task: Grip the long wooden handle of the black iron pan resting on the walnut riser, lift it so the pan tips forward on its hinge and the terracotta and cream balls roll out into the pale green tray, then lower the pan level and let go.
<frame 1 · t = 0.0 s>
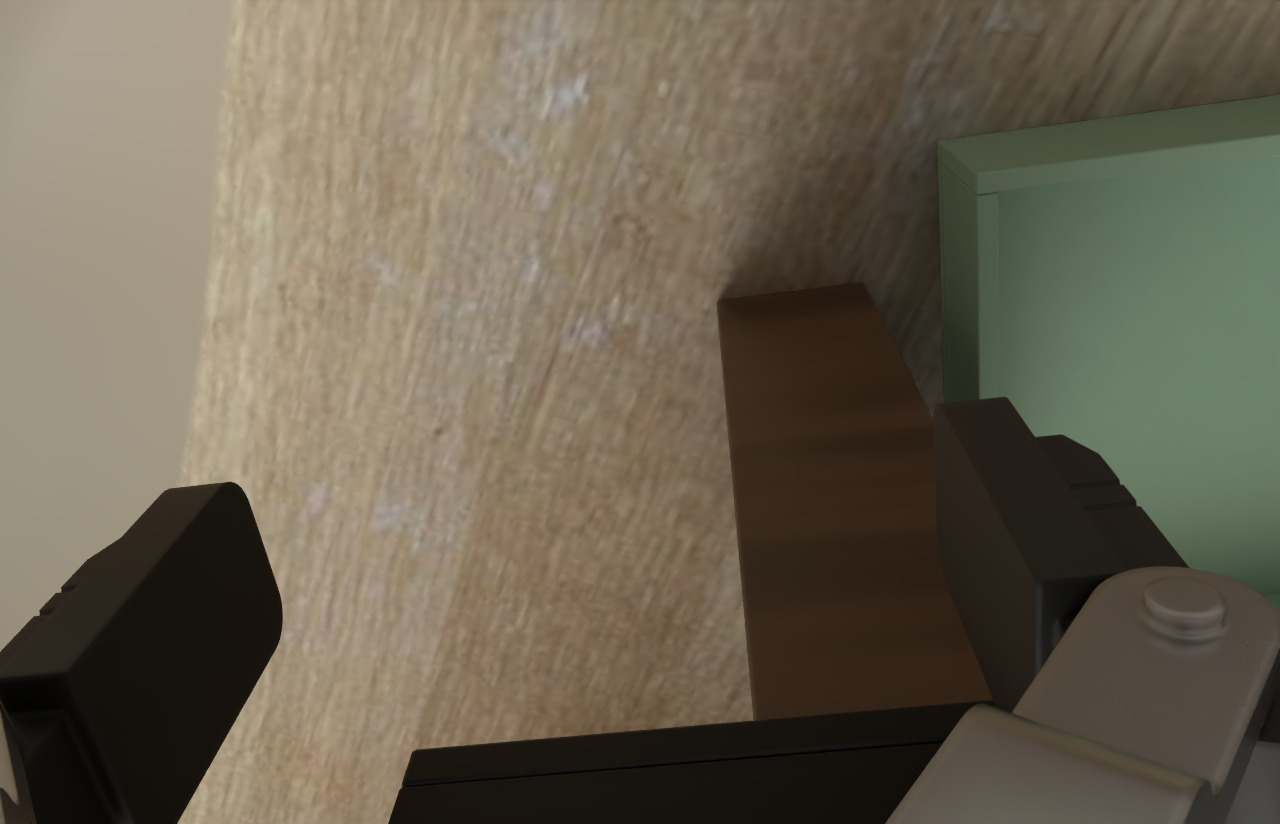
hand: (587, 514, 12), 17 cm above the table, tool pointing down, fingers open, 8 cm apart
riser: (801, 423, 30), on the table
tray: (1257, 372, 29), on the table
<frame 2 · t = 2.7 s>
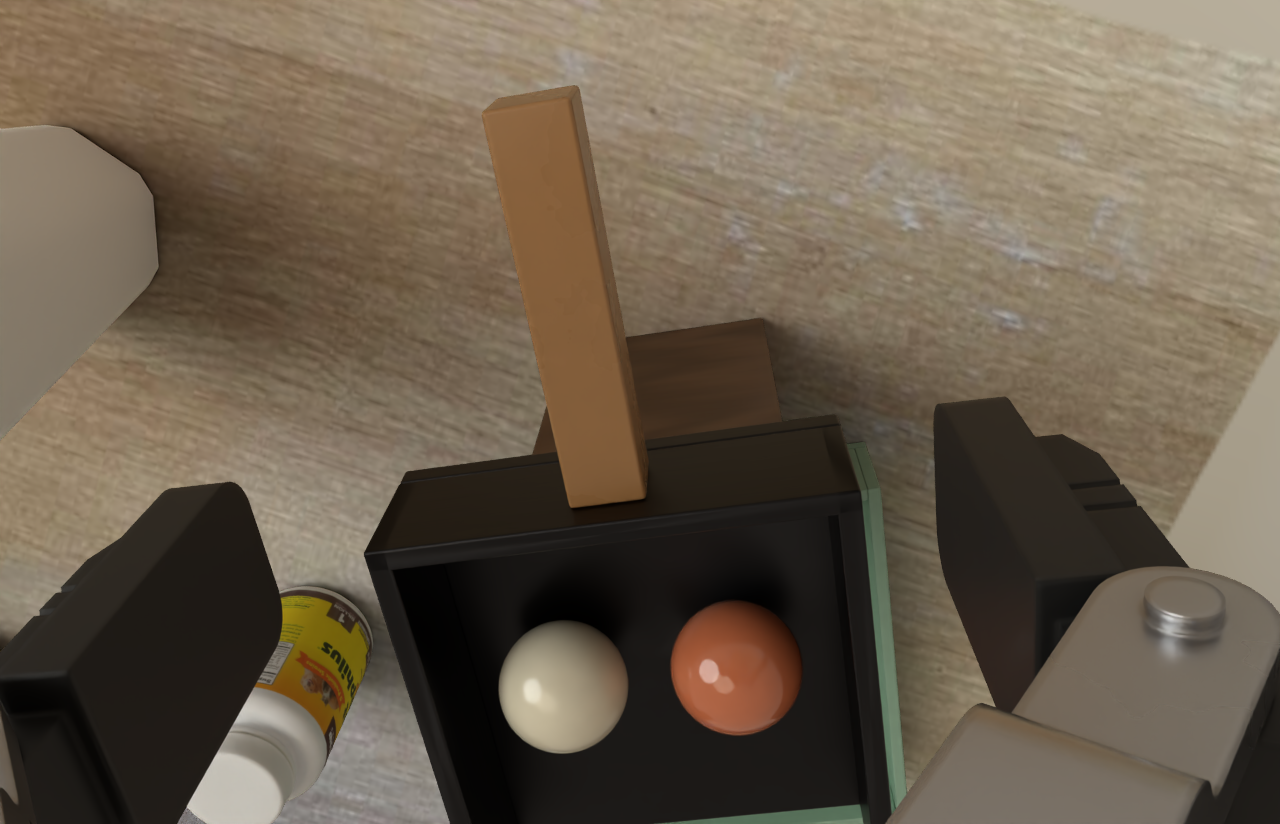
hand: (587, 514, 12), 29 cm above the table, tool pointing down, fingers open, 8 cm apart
riser: (669, 377, 43), on the table
pan: (623, 539, 23), point 20 cm above the table, hinge at 0.0°, touching cream ball, terracotta ball
tray: (712, 630, 48), on the table
cream ball: (563, 685, 24), point 20 cm above the table, touching pan
supplement bottle: (318, 627, 49), on the table
cup: (72, 219, 41), on the table
terracotta ball: (736, 666, 24), point 20 cm above the table, touching pan
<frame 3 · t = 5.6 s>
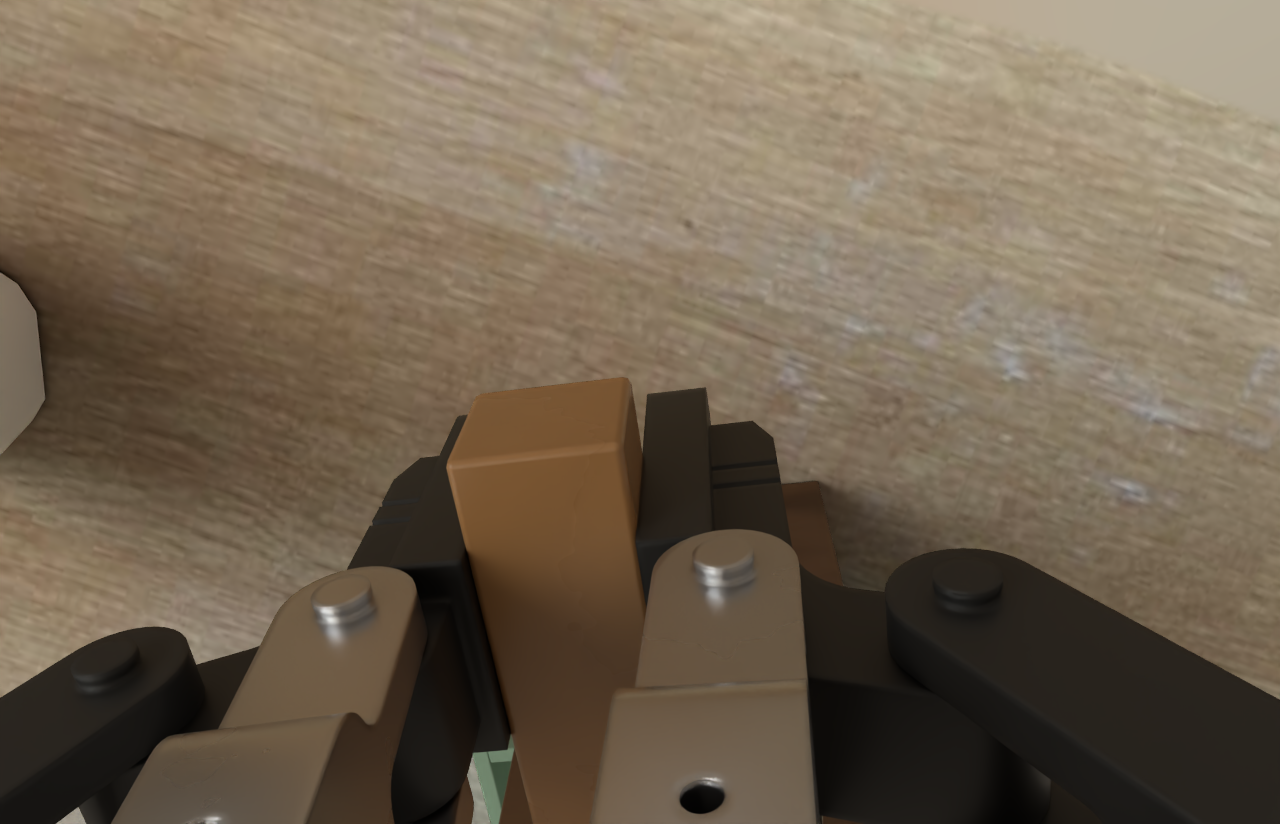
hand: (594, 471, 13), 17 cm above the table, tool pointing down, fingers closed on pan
riser: (696, 547, 34), on the table
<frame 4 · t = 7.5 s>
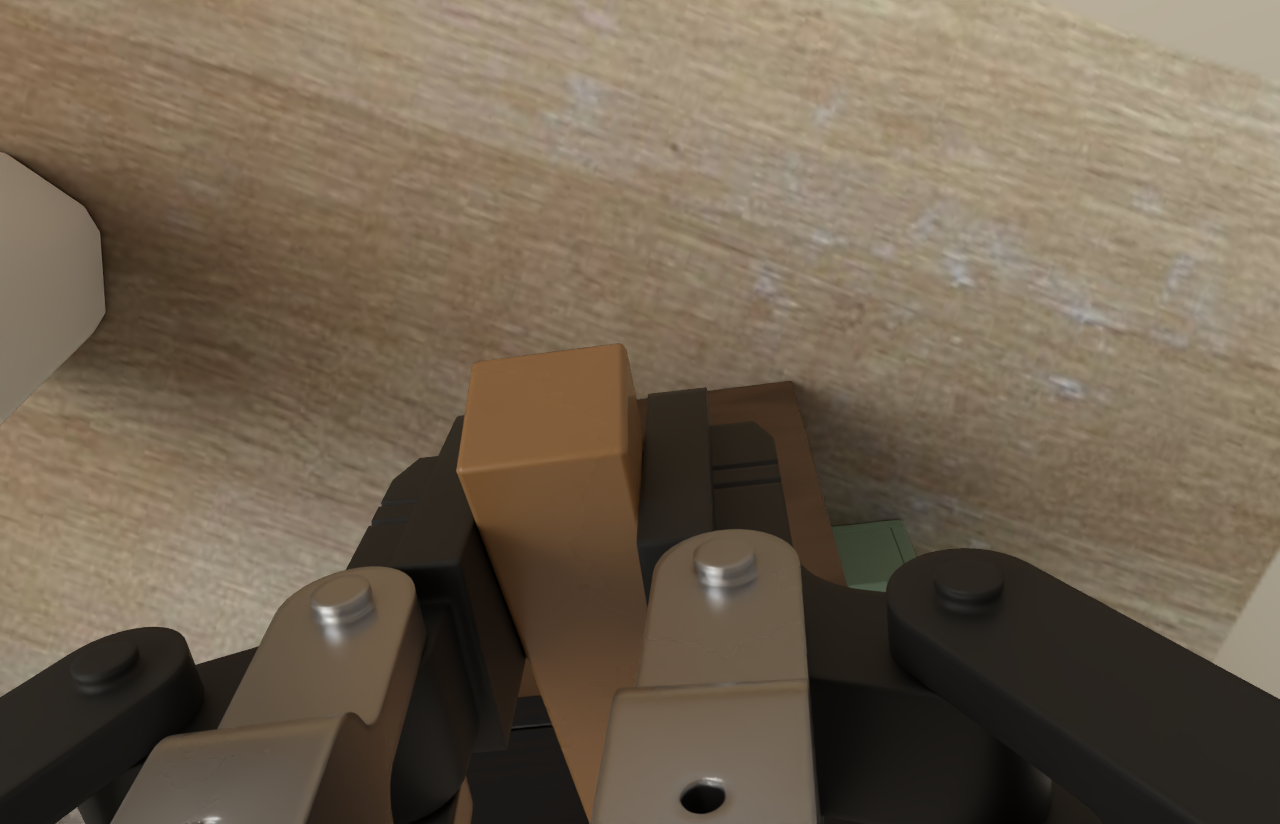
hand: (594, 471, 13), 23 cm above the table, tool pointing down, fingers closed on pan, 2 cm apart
riser: (685, 445, 38), on the table
tray: (724, 722, 43), on the table
cup: (7, 256, 36), on the table
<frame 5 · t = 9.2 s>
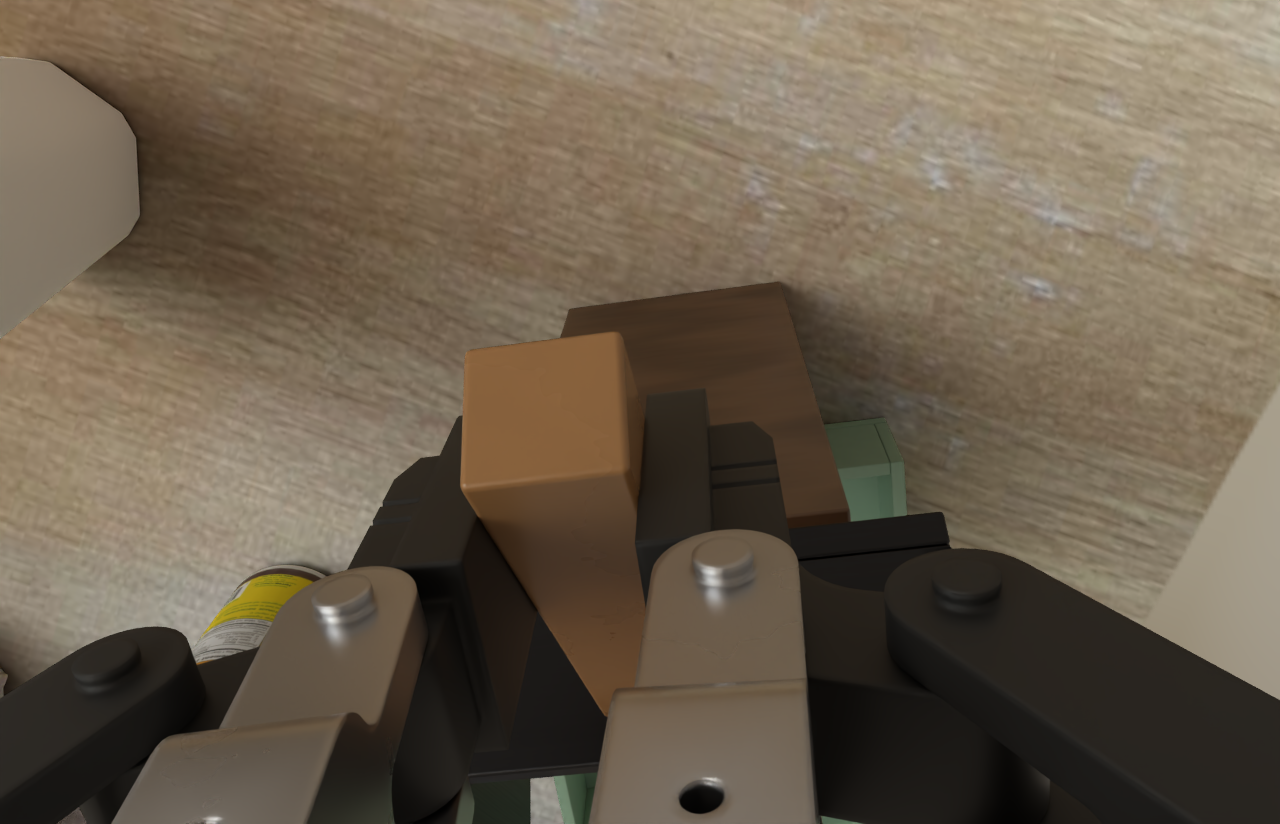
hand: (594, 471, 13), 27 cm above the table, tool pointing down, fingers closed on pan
riser: (680, 344, 41), on the table
pan: (661, 673, 18), point 23 cm above the table, hinge at 36.2°, touching gripper
tray: (718, 619, 45), on the table
supplement bottle: (300, 610, 46), on the table
cup: (49, 162, 39), on the table
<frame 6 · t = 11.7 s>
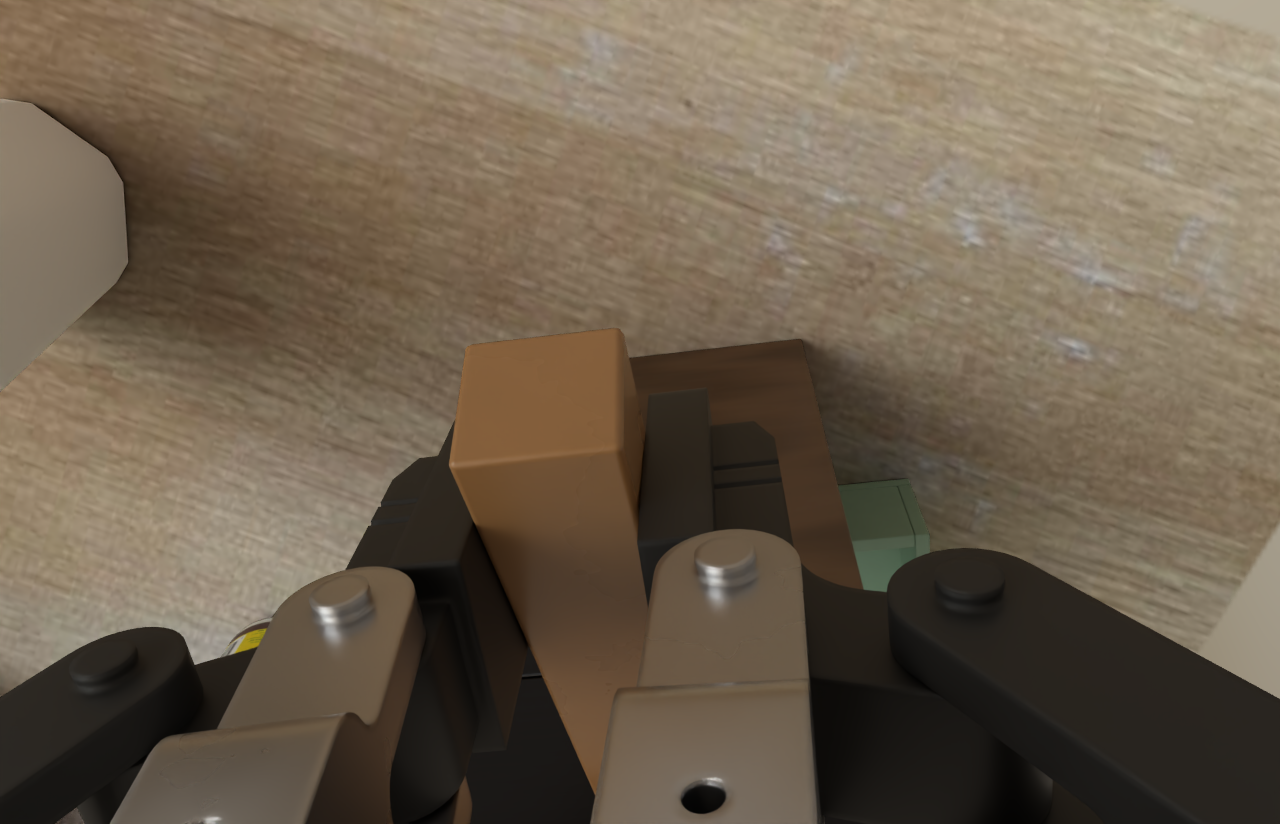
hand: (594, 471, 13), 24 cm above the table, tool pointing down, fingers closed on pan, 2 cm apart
riser: (695, 401, 39), on the table
pan: (667, 779, 17), point 22 cm above the table, hinge at 23.3°, touching gripper
tray: (730, 677, 44), on the table
supplement bottle: (297, 661, 45), on the table
cup: (33, 206, 37), on the table
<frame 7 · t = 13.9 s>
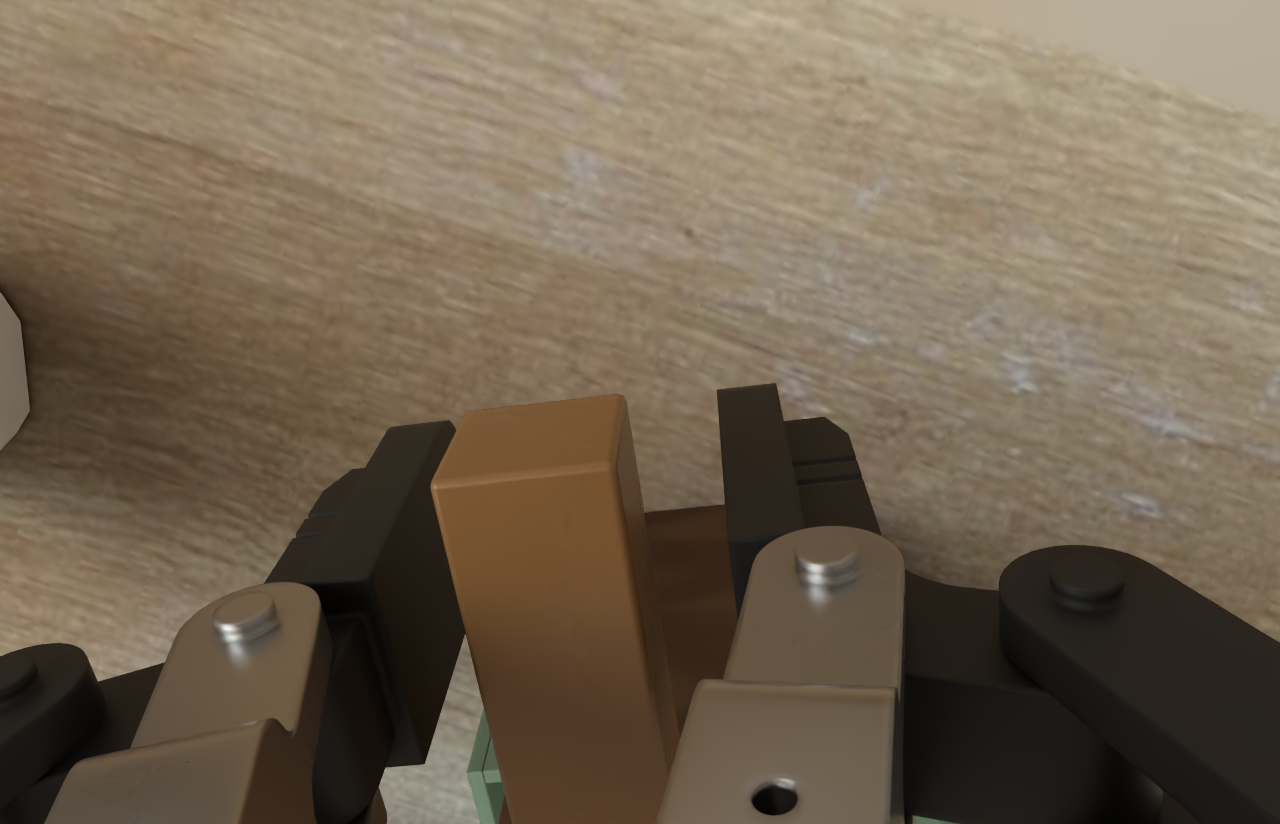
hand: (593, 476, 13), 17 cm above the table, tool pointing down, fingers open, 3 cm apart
riser: (697, 563, 33), on the table
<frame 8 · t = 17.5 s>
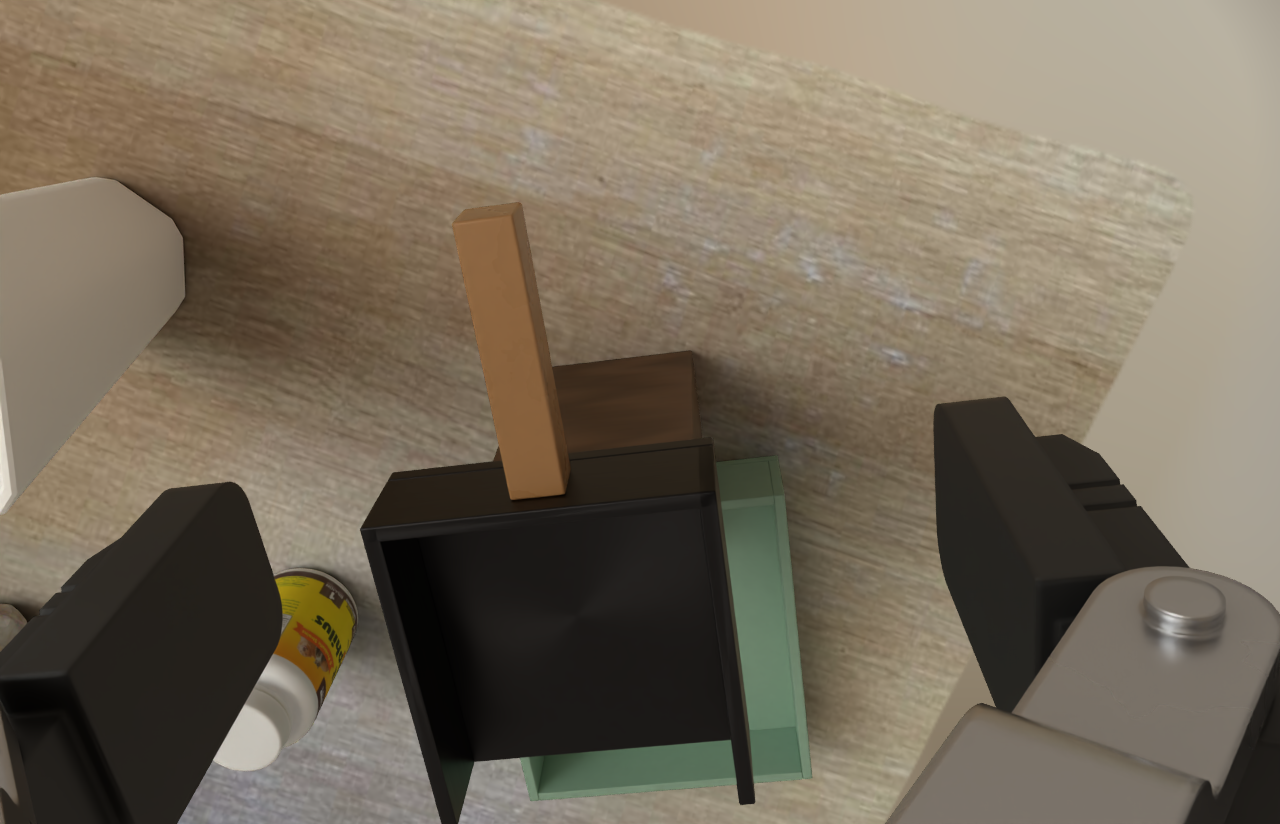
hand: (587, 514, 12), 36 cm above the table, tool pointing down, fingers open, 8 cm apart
riser: (614, 398, 51), on the table
pan: (551, 525, 31), point 20 cm above the table, hinge at -1.4°
seashell: (25, 693, 60), on the table
tray: (649, 612, 56), on the table
supplement bottle: (311, 604, 57), on the table
cup: (113, 254, 49), on the table
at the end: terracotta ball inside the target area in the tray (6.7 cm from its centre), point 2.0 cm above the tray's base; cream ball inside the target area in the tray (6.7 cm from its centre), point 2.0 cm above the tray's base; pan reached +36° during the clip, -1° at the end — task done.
